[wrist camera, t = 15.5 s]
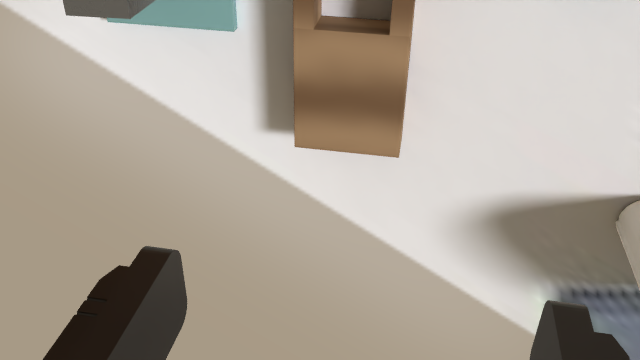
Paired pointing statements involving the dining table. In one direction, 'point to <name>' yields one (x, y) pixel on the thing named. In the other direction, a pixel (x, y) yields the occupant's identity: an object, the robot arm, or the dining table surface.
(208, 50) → the dining table surface
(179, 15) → the teal pad
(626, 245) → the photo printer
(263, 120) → the dining table surface
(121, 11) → the steel plug
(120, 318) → the robot arm
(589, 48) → the dining table surface
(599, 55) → the dining table surface
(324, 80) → the brown slotted block
